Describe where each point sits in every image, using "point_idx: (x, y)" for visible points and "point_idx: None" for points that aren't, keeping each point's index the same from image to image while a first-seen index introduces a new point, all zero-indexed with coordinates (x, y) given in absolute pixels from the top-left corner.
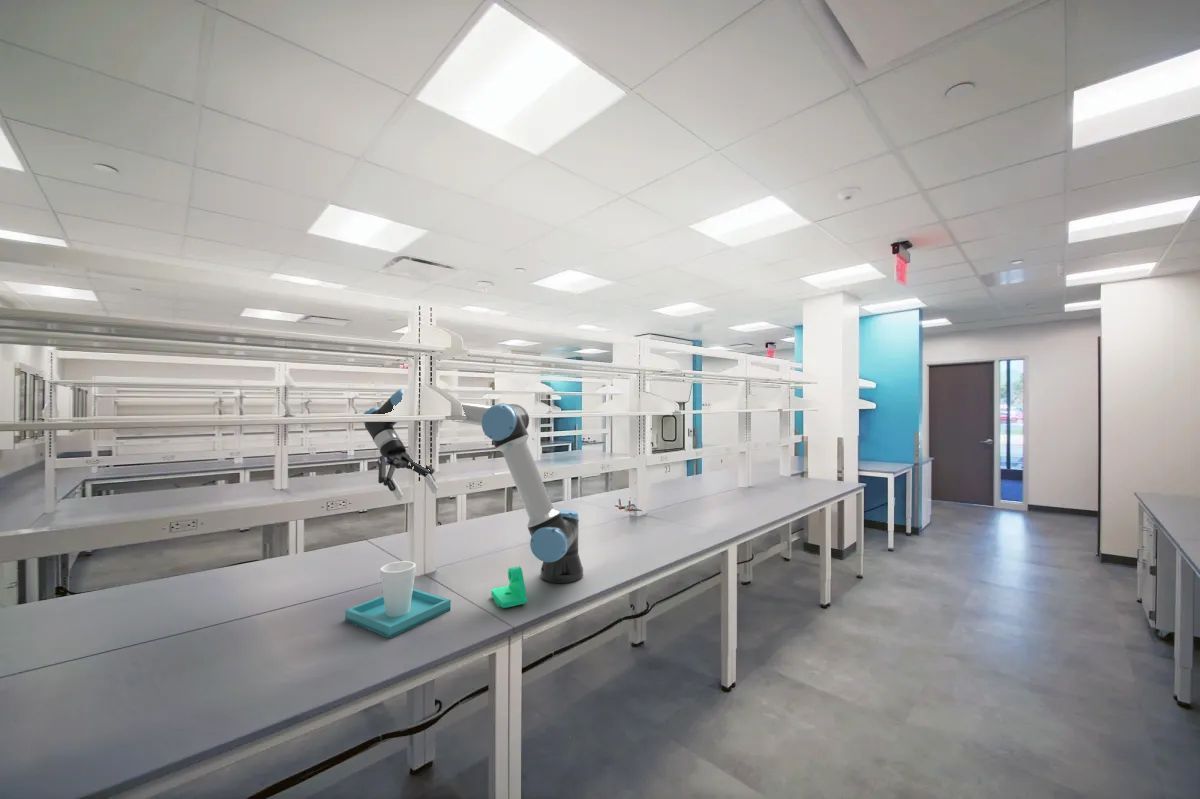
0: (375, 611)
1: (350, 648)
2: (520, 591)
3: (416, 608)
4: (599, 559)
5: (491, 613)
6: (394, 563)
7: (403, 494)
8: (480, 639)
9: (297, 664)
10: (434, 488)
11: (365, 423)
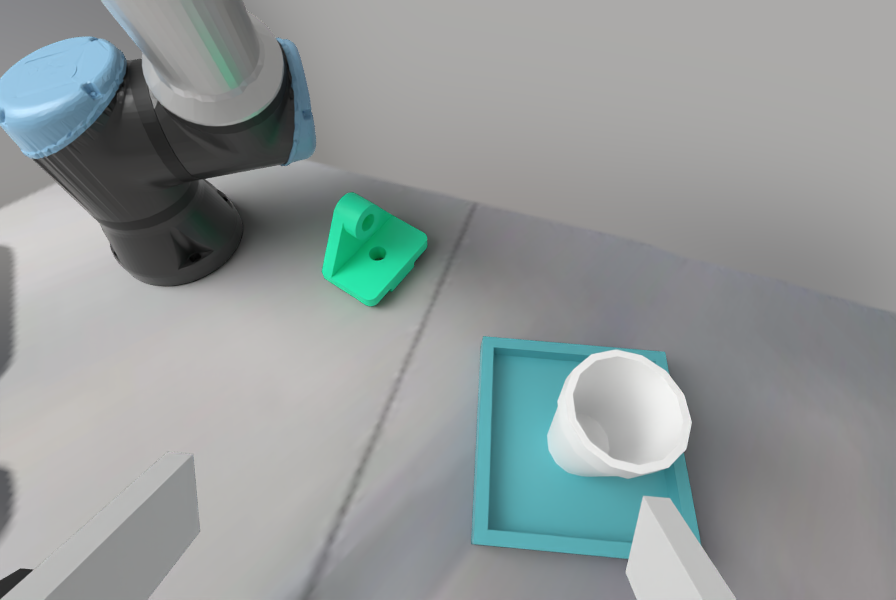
0: (615, 508)
1: (732, 403)
2: (384, 213)
3: (535, 413)
4: (32, 211)
5: (449, 260)
6: (612, 459)
7: (644, 498)
8: (544, 219)
9: (841, 446)
10: (180, 498)
11: None
